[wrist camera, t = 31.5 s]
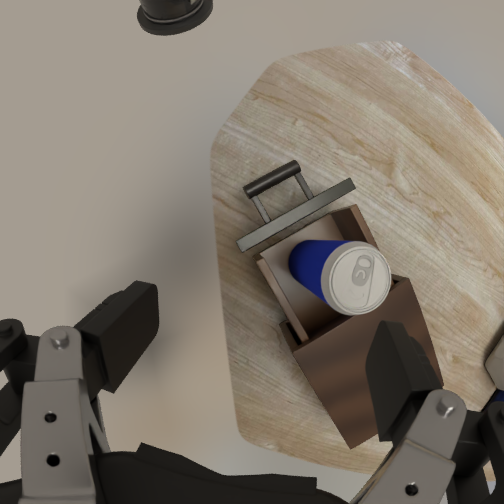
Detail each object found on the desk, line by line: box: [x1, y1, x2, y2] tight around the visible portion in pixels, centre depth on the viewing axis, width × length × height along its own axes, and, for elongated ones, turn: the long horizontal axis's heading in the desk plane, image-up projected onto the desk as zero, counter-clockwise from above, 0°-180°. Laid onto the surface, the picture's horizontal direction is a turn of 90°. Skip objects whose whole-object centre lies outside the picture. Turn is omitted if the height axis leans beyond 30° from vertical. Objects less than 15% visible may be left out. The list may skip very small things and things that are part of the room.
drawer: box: [236, 160, 395, 344], centre depth 31 cm, size 19×12×8 cm, turn 30°
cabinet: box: [279, 274, 444, 449], centre depth 32 cm, size 16×14×10 cm
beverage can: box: [289, 240, 391, 315], centre depth 26 cm, size 5×5×15 cm
